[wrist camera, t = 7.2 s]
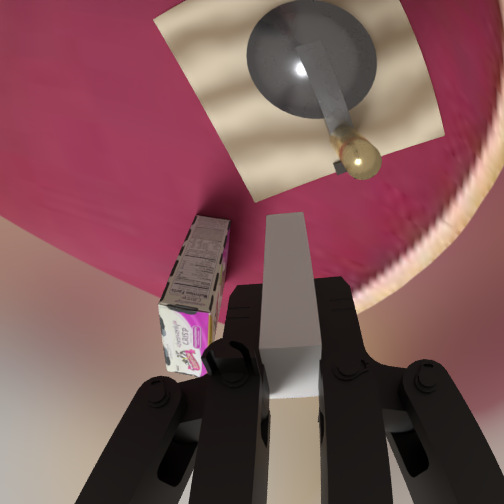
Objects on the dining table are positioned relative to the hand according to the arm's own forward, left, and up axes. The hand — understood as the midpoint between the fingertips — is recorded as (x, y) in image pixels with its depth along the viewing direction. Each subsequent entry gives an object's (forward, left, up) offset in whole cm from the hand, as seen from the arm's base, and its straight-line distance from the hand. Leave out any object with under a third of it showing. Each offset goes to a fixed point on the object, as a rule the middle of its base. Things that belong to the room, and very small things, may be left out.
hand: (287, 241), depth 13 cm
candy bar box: (+11, -15, -23) cm, 29 cm away
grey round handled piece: (-3, +6, -20) cm, 21 cm away
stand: (-6, +6, -22) cm, 24 cm away
